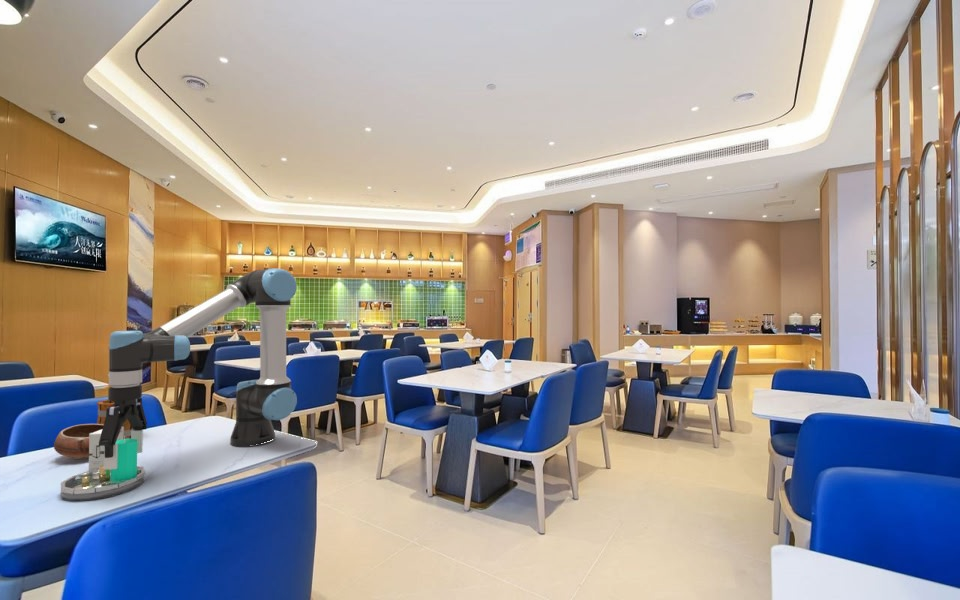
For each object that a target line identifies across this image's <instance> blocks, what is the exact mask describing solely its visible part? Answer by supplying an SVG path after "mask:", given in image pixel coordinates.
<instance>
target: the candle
mask: <svg viewBox="0 0 960 600" xmlns="http://www.w3.org/2000/svg"><path fill="white" fill-rule="evenodd" d="M137 441H138V439H130V438H127V439H125V436H124V439H122V440H118V441H116V443H115V444H118V451H117V468H116V469H111V481H122V480H128V479H131V478H134V477H135V476H137V466H138V453H137Z"/></svg>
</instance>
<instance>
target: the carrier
mask: <svg viewBox="0 0 960 600" xmlns="http://www.w3.org/2000/svg"><path fill="white" fill-rule="evenodd" d="M145 476H146V470H145V468H144V467H143V466H140V465H139V466H138V465H137V476H135V477H134V478H131V479H128V480H122V481H111V469H106V470H104V465H102V466H100V467H99V469H96V470H92V471H89V470H88V471H85V472H82V473H78V474H76V475H72V476H70V477H68V478H66V479H65V480H63V481H61V482H60V498H61V499H62V500H63V501H68V502H90V501H96V500H101V499H107V498H112V497H115V496H119V495H122V494H125V493H129V492H131V491H134V490H135V489H137V488H139V487H140V486H141V485H143V484H144V482H145Z"/></svg>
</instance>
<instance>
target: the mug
mask: <svg viewBox="0 0 960 600" xmlns="http://www.w3.org/2000/svg"><path fill="white" fill-rule="evenodd" d="M96 403H97V404H96V405H97V417H96V424H103V425H104V422H105V418H106V410H107V407H114V401H110V400H109V399H108V398H107V399H104V400H100V401H97V402H96ZM122 427H124V435H123V439H124V436H125V439H127V438H130V439H131V431H135V430H133V428H132V427H131V425H130V423H129V421H128V419H127V420H126V421H125V422H124V423H123V425H122Z"/></svg>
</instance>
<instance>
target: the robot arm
mask: <svg viewBox="0 0 960 600" xmlns="http://www.w3.org/2000/svg"><path fill="white" fill-rule="evenodd" d="M297 285H298V284H297V280H296V279H295V277H294V275H292V274H291V272H289V271H288V270H286V269H282V268H275V267H274V268H272V267H271V268H266V269H264V268H263V269H255V270H253V271H250V272H249V273H246V274H244V275H242V276H241V277H239V278H238V279H236V280H234V281H232V282H231V283H229V284H227V286H226V289H225V290H222V291H221V292H219V293H217V294H215V295H214V296H212V297H210V298H208V299H207V300H205V301H203V302H201V303H200V304H197V305H195V306H194V307H193V308H191V309H189V310H187V311H185V312H183V313H182V314H180V315H178V316H176V317H174V318H173V319H171V320H169V321H168V322H165V323H164V324H162V325H161V326H158V327H157V328H155V329H154V330H151V331H150V332H147V333H146V332H145V333H143V331H141V330H116V331H112V333H110V335H109V341H108V343H109V345H108V365H109V366H108V374H107V378H108V386H110V387H108V393H107V394H108V395H107V396H108V397H107V399H109V400H110V401H114V407H107V410H106V418H105V422H104V425H103V429H102V433H101V436H100V440H99V445H100V446H104V470H106V469H116V468H117V451H118V444H115V443H116V440H117V438H118V435H119V433H120V430H121V428H122V425H123V423H124V422H125V421H126V420H127V419H128V421H129V423H130V425H131V427H132V428H133V430H135V431H131V439H138V441H137V454H142V453H143V441H144V440H143V439H144V438H143V437H144V435H143V434H144V433H143V432H144V431H143V430H147V428H148V421H147V417H146V413H145V409H144V407H143V398H142V396H143V385H141V384H142V383H143V364H145V363H146V364H147V363H154V362H169V361H171V362H174V361H175V362H176V361H179V360H180V361H181V360H186V359H187V358H188V357H189V356H190V352H191V343H190V339H189V338H190V337H191V336H193V335H194V334H197V332H199V331H201V330H203V329H204V328H206V327H208V326H210V325H211V324H212V323H214V322H216V321H218V320H219V319H222V318H223V317H224V316H226V315H228V314H230V313H231V312H233V311H234V310H236V309H238V308H245V307H246V306H248V305H250V304H253V303H255V307H256V308H257V309H258V310H259V314H260V315H259V317H260V318H259V322H260V323H259V324H260V325H259V327H260V328H259V330H260V331H259V334H260V335H259V338H260V339H259V340H260V343H259V344H260V345H259V349H260V350H259V351H260V352H259V353H260V354H259V355H260V356H259V358H260V360H259V362H260V363H259V365H260V366H259V367H260V368H259V369H260V371H259V372H260V377H259V379H251V380H244V381H240V382H237V385H236V388H235V389H236V391H235V395H236V396H235V399H236V400H235V424H234V427H233V430H232V432H231V435H230V441H229V442H230V446H232V447H233V446H234V447H239V446H248V447H251V446H250V445H256V444H261V443H264V442H267V441H270V440H272V439H274V438H275V439H276V432H274V431H275V429H274V426H273V422H272V421H281V420H284V419H286V418H288V417H289V416H290V415H291V414H292V412H294V410H295V409H296V407H297V403H298V397H297V394H296V392H295V391H294V390H293V389H292V383H291V382H292V380H291V379H290V378H289V377H288V376H287V310H288V309H289V308H290V307H291V305H292V304H291V299H292V298H293V297H294V295H296V293H297V289H298V288H297V287H298V286H297ZM275 439H274V440H275Z"/></svg>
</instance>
